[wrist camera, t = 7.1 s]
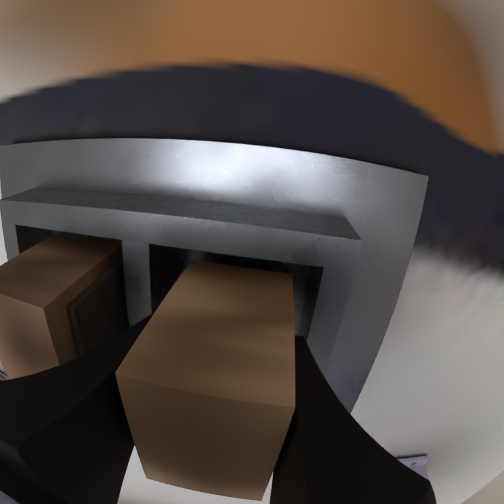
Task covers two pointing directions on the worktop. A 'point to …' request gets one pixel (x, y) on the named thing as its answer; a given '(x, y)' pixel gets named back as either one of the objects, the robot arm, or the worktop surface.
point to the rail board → (232, 226)
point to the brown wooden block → (60, 301)
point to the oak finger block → (214, 380)
